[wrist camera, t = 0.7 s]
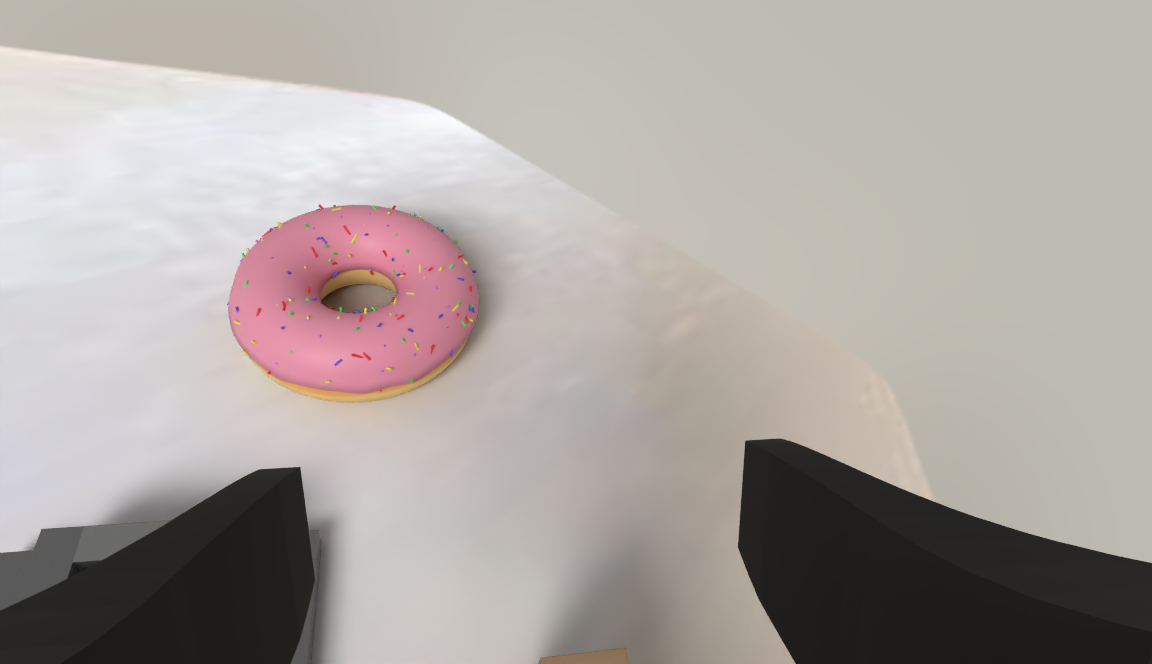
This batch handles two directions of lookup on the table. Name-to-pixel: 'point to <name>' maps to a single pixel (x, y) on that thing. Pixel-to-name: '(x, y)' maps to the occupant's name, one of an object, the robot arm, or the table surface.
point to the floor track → (82, 547)
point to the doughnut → (355, 340)
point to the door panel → (590, 658)
